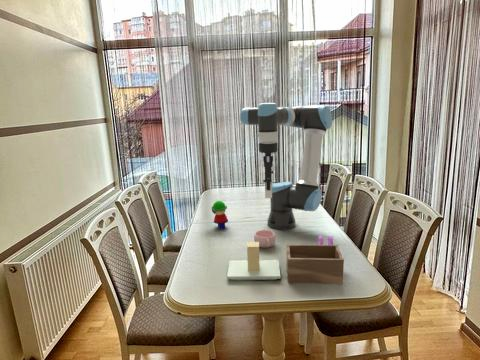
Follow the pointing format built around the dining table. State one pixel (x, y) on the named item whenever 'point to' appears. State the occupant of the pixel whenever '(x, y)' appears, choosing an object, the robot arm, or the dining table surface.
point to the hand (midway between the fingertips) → (268, 193)
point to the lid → (253, 266)
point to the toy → (220, 214)
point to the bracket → (320, 240)
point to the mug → (265, 238)
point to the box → (314, 264)
